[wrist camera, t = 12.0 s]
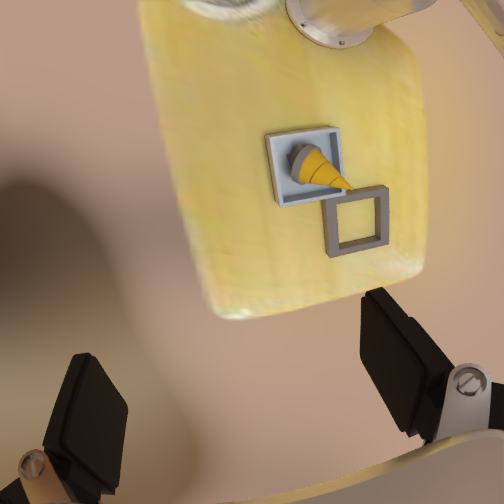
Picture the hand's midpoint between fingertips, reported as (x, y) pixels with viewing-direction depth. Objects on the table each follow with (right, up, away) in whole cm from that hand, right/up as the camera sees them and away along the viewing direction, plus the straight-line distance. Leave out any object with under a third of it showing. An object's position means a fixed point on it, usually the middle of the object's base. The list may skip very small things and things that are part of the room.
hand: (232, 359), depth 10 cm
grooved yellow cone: (+8, +15, +31) cm, 35 cm away
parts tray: (+7, +15, +31) cm, 35 cm away
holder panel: (+16, +8, +35) cm, 40 cm away
